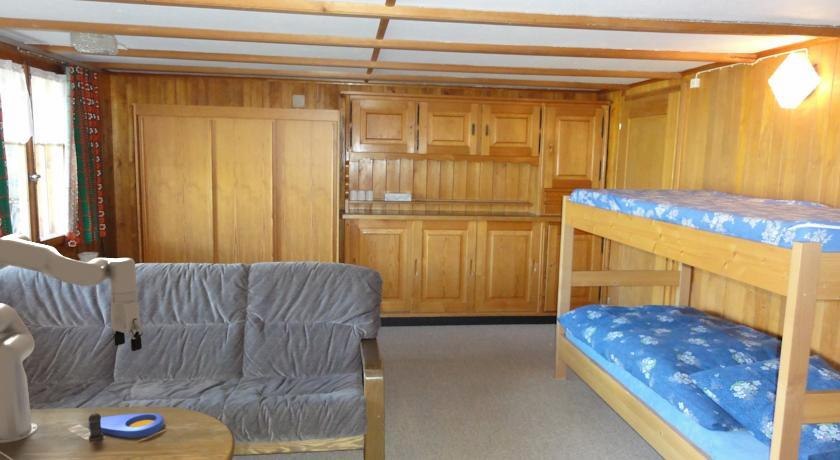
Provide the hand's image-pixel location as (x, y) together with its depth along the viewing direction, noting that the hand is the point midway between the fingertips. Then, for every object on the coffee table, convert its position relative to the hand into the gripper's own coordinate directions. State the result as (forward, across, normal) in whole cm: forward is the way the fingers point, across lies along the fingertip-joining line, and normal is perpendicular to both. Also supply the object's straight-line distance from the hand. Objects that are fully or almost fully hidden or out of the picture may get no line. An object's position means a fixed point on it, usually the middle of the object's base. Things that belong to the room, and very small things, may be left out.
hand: (128, 347), depth 195 cm
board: (+26, -5, -13) cm, 30 cm away
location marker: (+27, +1, -4) cm, 27 cm away
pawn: (+26, +2, -13) cm, 29 cm away
